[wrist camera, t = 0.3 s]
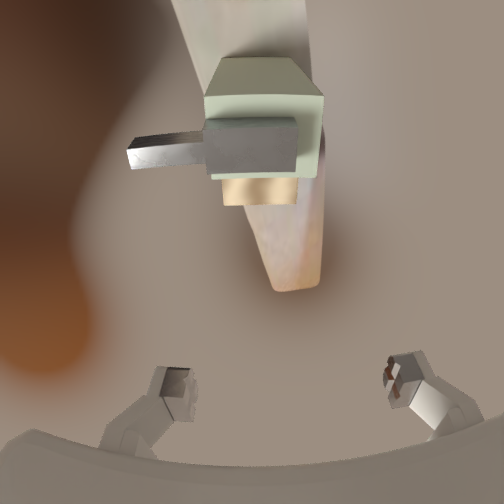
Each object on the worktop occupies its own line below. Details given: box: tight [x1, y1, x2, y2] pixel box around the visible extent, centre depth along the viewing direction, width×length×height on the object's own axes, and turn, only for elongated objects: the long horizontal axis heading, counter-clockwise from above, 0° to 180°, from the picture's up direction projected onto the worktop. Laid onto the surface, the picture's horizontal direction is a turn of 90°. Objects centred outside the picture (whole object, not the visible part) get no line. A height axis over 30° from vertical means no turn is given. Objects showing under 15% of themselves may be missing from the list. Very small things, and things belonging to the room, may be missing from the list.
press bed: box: [222, 178, 298, 206], centre depth 52 cm, size 12×10×15 cm
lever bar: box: [127, 117, 298, 174], centre depth 30 cm, size 17×5×3 cm, turn 91°
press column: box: [204, 57, 324, 179], centre depth 40 cm, size 12×10×26 cm
